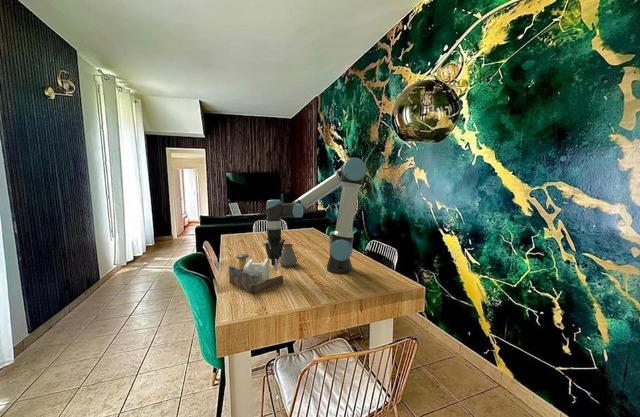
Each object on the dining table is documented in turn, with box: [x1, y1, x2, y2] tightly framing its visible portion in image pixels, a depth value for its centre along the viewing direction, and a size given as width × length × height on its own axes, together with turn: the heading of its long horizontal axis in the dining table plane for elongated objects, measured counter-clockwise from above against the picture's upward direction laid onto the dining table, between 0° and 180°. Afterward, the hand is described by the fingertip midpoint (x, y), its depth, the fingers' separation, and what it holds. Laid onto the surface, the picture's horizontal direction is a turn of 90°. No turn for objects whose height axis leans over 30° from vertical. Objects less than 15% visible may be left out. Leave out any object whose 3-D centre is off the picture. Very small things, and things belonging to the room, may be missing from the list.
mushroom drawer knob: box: [235, 253, 249, 272], centre depth 151 cm, size 7×7×10 cm
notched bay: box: [228, 264, 284, 295], centre depth 134 cm, size 22×18×9 cm
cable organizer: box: [243, 257, 270, 283], centre depth 134 cm, size 15×11×12 cm
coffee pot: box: [262, 243, 298, 268], centre depth 165 cm, size 21×12×15 cm, turn 93°
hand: (275, 270), depth 143 cm, fingers closed
